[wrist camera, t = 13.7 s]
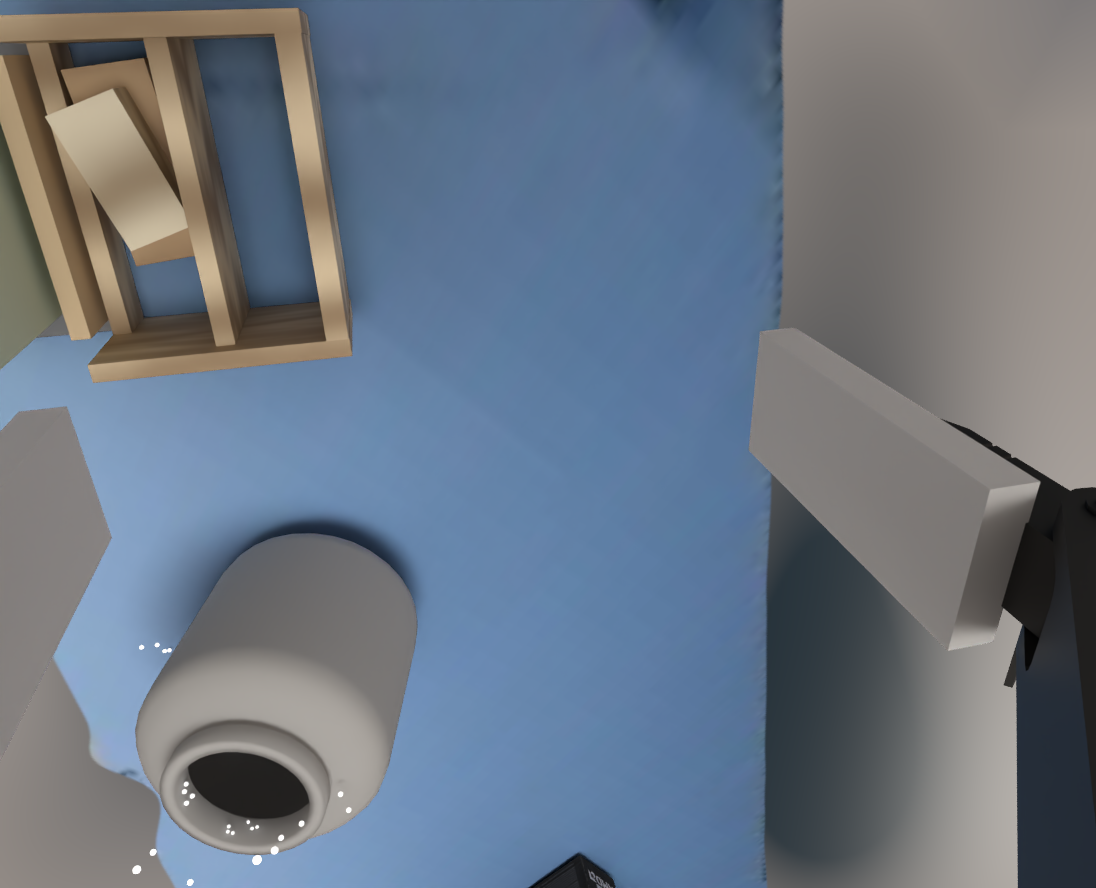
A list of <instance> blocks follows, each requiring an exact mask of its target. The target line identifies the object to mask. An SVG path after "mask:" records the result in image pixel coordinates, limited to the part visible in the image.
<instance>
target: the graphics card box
mask: <svg viewBox="0 0 1096 888" xmlns="http://www.w3.org/2000/svg"><path fill="white" fill-rule="evenodd" d="M533 888H615V885H614V881H613V879H612V878H611V877H609V876H608V875H607V874H605V873H604V872H602V871H601V870H600V869H598V868H597V867H595V866H594V865H593V864H591V863H590V862H589V861H587V860H585V859H584V858H583V857H581V856H578V857H576V858H575V859H574V860H572V861H571V862H569V863H568V864H566V865H565V866H563V867H562V868H561V869H559V870H558V871H556V872H555V873H553V874H552V875H550V876H549V877H547V878H546V879H545V880H543V881H542V882H540V883H539V884H537V885H536V886H535V887H533Z"/></svg>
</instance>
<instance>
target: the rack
mask: <svg viewBox="0 0 1096 888" xmlns="http://www.w3.org/2000/svg"><path fill="white" fill-rule="evenodd" d="M252 37H275V42H276V48H277V54H278V60H279V66H280V71H281V77H282V83H283V89H284V95H285V101H286V107H287V113H288V119H289V124H290V130H291V136H292V142H293V148H294V154H295V160H296V166H297V172H298V177H299V183H300V189H301V195H302V201H303V207H304V213H305V219H306V225H307V230H308V236H309V242H310V248H311V254H312V260H313V266H314V272H315V278H316V283H317V289H318V295H319V301H320V302H312V303H301V304H290V305H279V306H268V307H257V308H250V304H249V300H248V295H247V290H246V286H245V281H244V276H243V271H242V267H241V262H240V257H239V253H238V248H237V243H236V238H235V234H234V229H233V224H232V220H231V215H230V210H229V206H228V201H227V196H226V191H225V187H224V182H223V177H222V173H221V168H220V163H219V158H218V154H217V149H216V144H215V140H214V135H213V130H212V125H211V121H210V116H209V111H208V107H207V102H206V97H205V92H204V88H203V83H202V78H201V74H200V69H199V64H198V60H197V55H196V50H195V45H194V41H193V39H220V38H252ZM124 41H144V45H145V49H146V53H147V58H148V62H149V66H150V70H151V74H152V79H153V83H154V87H155V91H156V95H157V100H158V104H159V108H160V112H161V116H162V120H163V125H164V129H165V133H166V137H167V141H168V146H169V150H170V154H171V158H172V162H173V167H174V171H175V175H176V179H177V183H178V188H179V192H180V196H181V200H182V204H183V209H184V213H185V217H186V221H187V225H188V230H189V234H190V238H191V242H192V246H193V251H194V255H195V259H196V263H197V267H198V272H199V276H200V280H201V284H202V288H203V293H204V297H205V301H206V305H207V309H208V312H202V313H191V314H180V315H169V316H158V317H147V318H144V316H143V312H142V309H141V305H140V301H139V298H138V294H137V291H136V287H135V283H134V280H133V276H132V273H131V269H130V266H129V262H128V258H127V255H126V251H125V248H124V244H123V240H122V237H121V235H120V233H119V232H118V230H117V229H116V227H115V226H114V224H113V222H112V221H111V219H110V218H109V216H108V215H107V213H106V212H105V210H104V208H103V207H102V205H101V204H100V202H99V201H98V199H97V198H96V196H95V194H94V193H93V191H92V190H91V188H90V187H89V185H88V184H87V182H86V180H85V179H84V177H83V176H82V174H81V173H80V171H79V170H78V168H77V166H76V165H75V163H74V162H73V160H72V159H71V157H70V156H69V154H68V152H67V151H66V149H65V148H64V146H63V145H62V143H61V142H60V140H59V138H58V137H57V135H56V134H55V132H54V131H53V129H52V127H51V129H52V132H53V135H54V139H55V142H56V145H57V149H58V152H59V155H60V159H61V162H62V165H63V169H64V172H65V175H66V179H67V182H68V185H69V189H70V192H71V195H72V199H73V202H74V205H75V209H76V212H77V215H78V219H79V222H80V225H81V229H82V232H83V235H84V239H85V242H86V245H87V249H88V252H89V255H90V259H91V262H92V265H93V269H94V272H95V275H96V279H97V282H98V285H99V289H100V292H101V295H102V299H103V302H104V305H105V309H106V312H107V315H108V319H109V322H110V325H111V329H112V332H113V336H112V337H111V338H110V339H109V341H108V342H107V343H106V344H105V345H104V346H103V348H102V349H101V350H100V351H99V352H98V354H97V355H96V356H95V357H94V358H93V359H92V361H91V362H90V363H89V364H88V368H89V371H90V374H91V378H92V381H93V383H97V382H107V381H117V380H126V379H136V378H145V377H155V376H165V375H174V374H184V373H193V372H203V371H213V370H222V369H232V368H242V367H251V366H261V365H270V364H280V363H290V362H299V361H309V360H319V359H328V358H338V357H347V356H352V308H351V301H350V299H349V293H348V287H347V280H346V273H345V267H344V260H343V254H342V247H341V240H340V234H339V227H338V221H337V214H336V208H335V201H334V194H333V188H332V181H331V175H330V168H329V161H328V155H327V148H326V142H325V135H324V128H323V122H322V115H321V109H320V102H319V95H318V89H317V82H316V76H315V69H314V62H313V56H312V49H311V43H310V30H309V23H308V17H307V15H306V14H305V13H304V12H303V11H301V10H300V9H299V8H274V9H234V10H194V11H155V12H115V13H75V14H35V15H0V43H26V45H27V49H28V52H29V55H30V59H31V62H32V65H33V69H34V72H35V75H36V79H37V82H38V85H39V89H40V92H41V95H42V99H43V102H44V105H45V109H46V112H47V115H50V114H52V113H54V112H57V111H59V110H62V109H64V108H67V107H69V106H71V105H74V104H73V101H72V98H71V96H70V93H69V91H68V88H67V86H66V83H65V80H64V78H63V75H62V73H61V70H64V69H71V68H74V64H73V61H72V57H71V53H70V50H69V46H68V43H93V42H124Z"/></svg>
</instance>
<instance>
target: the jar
mask: <svg viewBox="0 0 1096 888" xmlns="http://www.w3.org/2000/svg"><path fill="white" fill-rule="evenodd" d="M416 635H417V616H416V608H415V605H414V602H413V599H412V596H411V594H410V591H409V590H408V588H407V587H406V585H405V583H404V582H403V580H402V579H401V577H400V576H399V575H398V574H397V573H396V572H395V571H394V570H393V569H392V568H391V567H390V565H389V564H388V563H386V562H385V561H384V560H382V559H381V558H380V557H378V556H377V555H375V554H374V553H373V552H371V551H370V550H368V549H366V548H364V547H362V546H360V545H358V544H356V543H354V542H351V541H348V540H345V539H342V538H338V537H335V536H329V535H322V534H315V533H305V534H288V535H283V536H278V537H273V538H271V539H268V540H266V541H263V542H261V543H258V544H256V545H254V546H253V547H251V548H250V549H248V550H247V551H245V552H244V553H242V554H241V555H240V556H239V557H238V558H237V559H236V560H235V561H234V562H233V563H232V564H231V565H230V566H229V568H228V569H227V570H226V571H225V572H224V573H223V574H222V576H221V578H220V579H219V581H218V582H217V584H216V585H215V587H214V589H213V590H212V592H211V593H210V595H209V596H208V598H207V600H206V601H205V603H204V604H203V606H202V608H201V609H200V611H199V612H198V614H197V615H196V617H195V619H194V620H193V622H192V623H191V625H190V626H189V628H188V630H187V631H186V633H185V634H184V636H183V638H182V639H181V641H180V642H179V644H178V645H177V647H176V649H175V650H174V652H173V653H172V655H171V657H170V658H169V660H168V661H167V663H166V664H165V666H164V668H163V669H162V671H161V672H160V674H159V675H158V677H157V679H156V680H155V682H154V683H153V685H152V687H151V689H150V691H149V693H148V694H147V696H146V698H145V700H144V702H143V704H142V707H141V709H140V711H139V714H138V719H137V724H136V728H135V733H136V747H137V751H138V755H139V759H140V762H141V764H142V767H143V770H144V773H145V775H146V777H147V778H148V780H149V781H150V783H151V785H152V786H153V788H154V789H155V790H156V792H157V793H158V794H159V795H160V798H161V801H162V804H163V807H164V808H165V810H166V812H167V813H168V815H169V816H170V818H171V819H172V820H173V821H174V822H175V823H176V824H177V825H178V826H179V828H181V829H182V830H183V831H185V832H186V833H187V834H189V835H190V836H191V837H193V838H195V839H197V840H199V841H200V842H202V843H204V844H206V845H209V846H212V847H214V848H217V849H220V850H224V851H228V852H232V853H238V854H247V855H256V856H255V857H254V858H253V863H254V864H255V865H258V864H260V863H261V860H262V858H261V856H259V855H266V854H276V853H279V852H283V851H286V850H289V849H292V848H295V847H296V846H298V845H300V844H302V843H304V842H306V841H307V840H308V839H310V838H314V837H317V836H320V835H323V834H326V833H329V832H331V831H333V830H335V829H336V828H338V827H340V826H342V825H344V824H346V823H347V822H348V821H350V820H351V819H352V818H354V817H355V816H356V815H357V814H359V813H360V812H361V811H362V810H363V809H365V808H366V807H367V806H368V805H369V803H370V802H371V801H372V799H373V798H374V797H375V796H376V794H377V793H378V791H379V788H380V786H381V784H382V781H383V779H384V776H385V774H386V771H387V768H388V766H389V762H390V757H391V753H392V748H393V744H394V739H395V735H396V730H397V726H398V721H399V717H400V712H401V707H402V703H403V698H404V694H405V689H406V685H407V680H408V676H409V671H410V667H411V662H412V658H413V653H414V649H415V643H416ZM155 646H156V647H159V643H156V644H155ZM139 648H140V649H144V646H143V645H141V646H140V647H139ZM167 651H168V652H171V648H169V649H168V650H166V649H163V651H162V652H163V653H166V652H167ZM155 854H156V850H155V849H152V850H151V851H150V855H155ZM140 870H141V867H140V866H135V867H134V868H133V873H134V874H137V873H139V872H140ZM187 884H188V885H189V886H191V885H192V884H193V880H192V879H190V880H188V882H187Z"/></svg>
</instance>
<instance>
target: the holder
mask: <svg viewBox="0 0 1096 888" xmlns="http://www.w3.org/2000/svg"><path fill="white" fill-rule="evenodd" d="M45 116H47V112H46V109H45V105H44V102H43V99H42V95H41V92H40V89H39V85H38V82H37V79H36V75H35V72H34V69H33V65H32V62H31V59H30V55H29V52H28V49H27V45H26V43H0V123H1V126H2V129H3V132H4V135H5V138H6V141H7V144H8V147H9V150H10V154H11V157H12V160H13V163H14V166H15V169H16V172H17V175H18V178H19V181H20V184H21V187H22V190H23V193H24V196H25V199H26V203H27V206H28V209H29V212H30V215H31V218H32V221H33V224H34V227H35V230H36V233H37V236H38V239H39V242H40V245H41V248H42V251H43V255H44V258H45V261H46V264H47V267H48V270H49V273H50V276H51V279H52V282H53V285H54V288H55V291H56V294H57V297H58V300H59V304H60V307H61V310H62V313H63V314H62V315H61V316H60V317H58V318H57V319H56V320H55V321H54V322H53V323H52V324H51V325H50V326H48V327H47V328H46V329H45V330H44V331H43V332H42V333H41V334H39V335H38V336H37V337H36V338H38V337H49V336H60V335H70V337H71V340H82V339H91V338H92V337H93V336H94V335H95V334H96V333H97V332H103V331H112V329H111V325H110V322H109V319H108V315H107V312H106V309H105V305H104V302H103V299H102V295H101V292H100V289H99V285H98V282H97V279H96V275H95V272H94V269H93V265H92V262H91V259H90V255H89V252H88V249H87V245H86V242H85V239H84V235H83V232H82V229H81V225H80V222H79V219H78V215H77V212H76V209H75V205H74V202H73V199H72V195H71V192H70V189H69V185H68V182H67V179H66V175H65V172H64V169H63V165H62V162H61V159H60V155H59V152H58V149H57V145H56V142H55V139H54V135H53V132H52V129H51V126H50V124H49V123H48V121H47V120H46V118H45Z"/></svg>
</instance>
